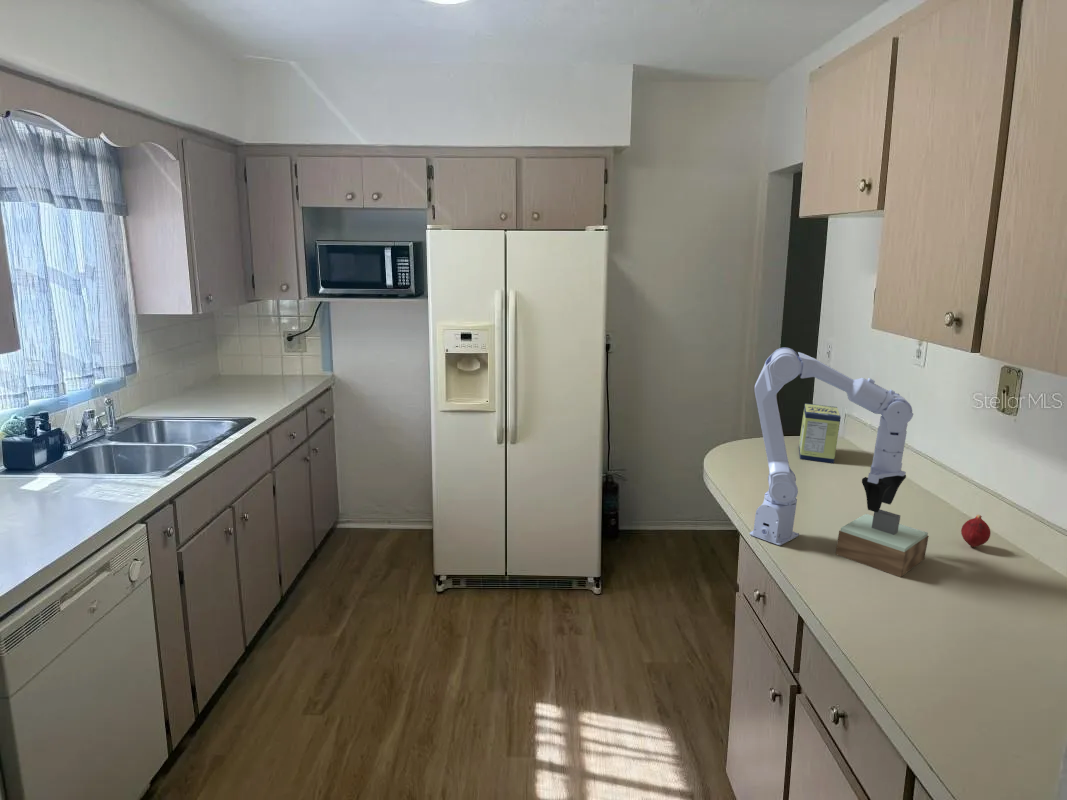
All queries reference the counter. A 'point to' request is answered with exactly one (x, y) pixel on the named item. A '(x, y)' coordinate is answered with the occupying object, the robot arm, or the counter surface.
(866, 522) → the lid
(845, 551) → the box
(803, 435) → the protein box
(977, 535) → the onion
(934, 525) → the counter surface
